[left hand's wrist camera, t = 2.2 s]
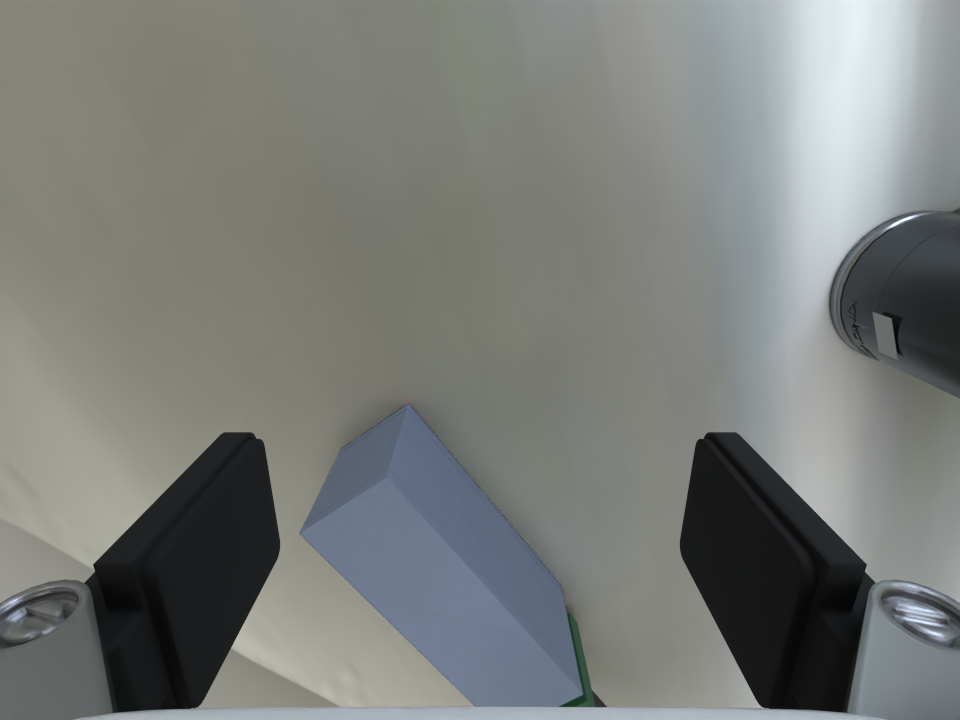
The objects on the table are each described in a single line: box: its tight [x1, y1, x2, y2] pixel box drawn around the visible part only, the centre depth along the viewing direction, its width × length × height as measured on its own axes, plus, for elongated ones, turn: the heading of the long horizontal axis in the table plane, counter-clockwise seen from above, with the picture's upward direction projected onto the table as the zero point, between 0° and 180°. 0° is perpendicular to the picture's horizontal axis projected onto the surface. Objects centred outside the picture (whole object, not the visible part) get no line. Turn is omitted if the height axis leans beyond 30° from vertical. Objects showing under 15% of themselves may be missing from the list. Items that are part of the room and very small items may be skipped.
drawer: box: [559, 613, 607, 707], centre depth 36 cm, size 24×5×7 cm, turn 35°
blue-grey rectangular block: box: [299, 404, 583, 707], centre depth 34 cm, size 20×6×9 cm, turn 35°
